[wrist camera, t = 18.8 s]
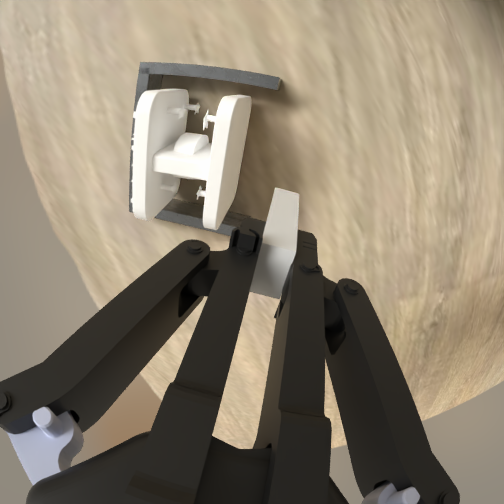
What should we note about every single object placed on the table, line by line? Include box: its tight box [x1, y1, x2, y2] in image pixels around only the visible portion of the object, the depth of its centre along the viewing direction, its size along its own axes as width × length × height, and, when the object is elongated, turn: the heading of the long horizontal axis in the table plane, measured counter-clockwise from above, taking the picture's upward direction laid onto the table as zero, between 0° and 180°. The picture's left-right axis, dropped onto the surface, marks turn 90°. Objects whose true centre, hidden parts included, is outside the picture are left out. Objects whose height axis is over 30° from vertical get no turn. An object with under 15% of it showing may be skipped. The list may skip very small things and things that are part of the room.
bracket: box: [129, 62, 281, 236], centre depth 35 cm, size 17×21×4 cm
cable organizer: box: [131, 89, 252, 230], centre depth 32 cm, size 15×11×12 cm
